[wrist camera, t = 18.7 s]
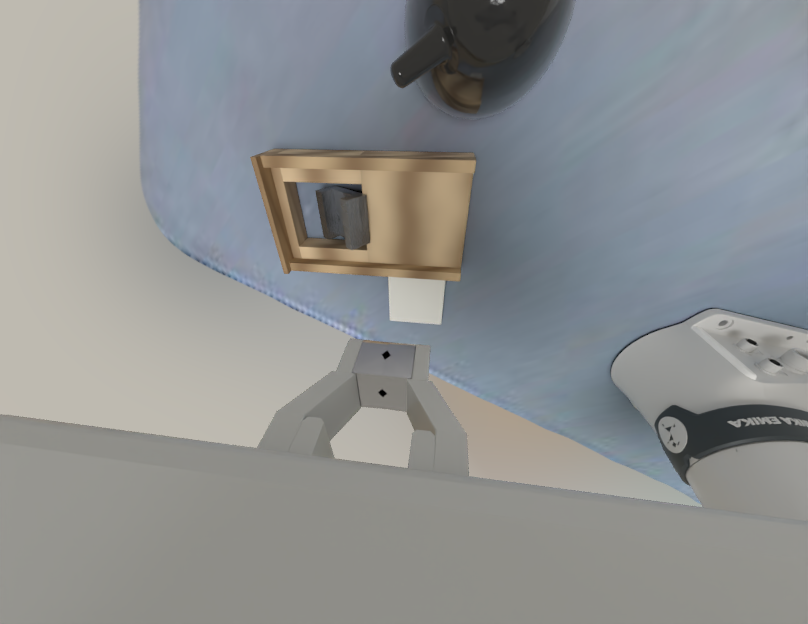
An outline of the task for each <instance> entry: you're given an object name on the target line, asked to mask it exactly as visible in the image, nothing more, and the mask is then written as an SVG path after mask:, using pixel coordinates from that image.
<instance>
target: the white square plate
mask: <svg viewBox="0 0 808 624" xmlns="http://www.w3.org/2000/svg"><path fill="white" fill-rule="evenodd" d="M388 284H389V309H390V321H401V322H414V323H426V324H438V325H441V320H442V310H443V300H444V290H445V280H431V279H415V278H400V277H388Z"/></svg>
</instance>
